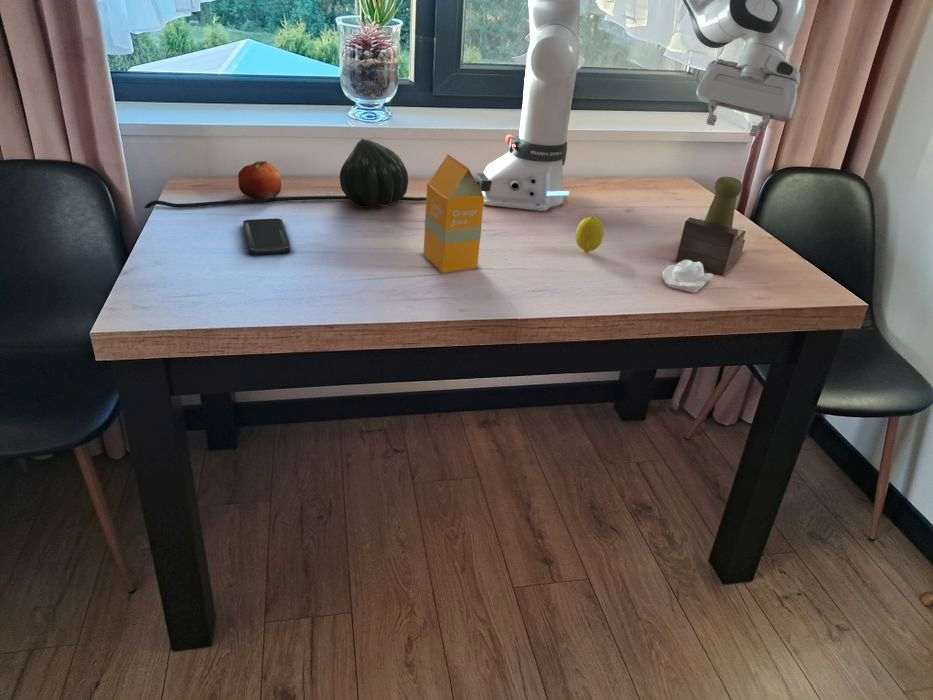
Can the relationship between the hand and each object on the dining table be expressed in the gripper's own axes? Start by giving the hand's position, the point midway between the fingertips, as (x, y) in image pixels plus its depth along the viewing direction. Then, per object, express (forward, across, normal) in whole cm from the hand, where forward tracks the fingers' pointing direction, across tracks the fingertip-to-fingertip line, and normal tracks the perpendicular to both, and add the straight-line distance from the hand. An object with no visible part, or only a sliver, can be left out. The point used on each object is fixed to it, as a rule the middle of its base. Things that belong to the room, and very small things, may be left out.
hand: (731, 129), depth 157 cm
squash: (+43, -63, -21) cm, 79 cm away
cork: (+22, +6, -2) cm, 22 cm away
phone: (+59, -65, -47) cm, 99 cm away
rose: (+35, +7, -12) cm, 38 cm away
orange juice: (+49, -32, -33) cm, 67 cm away
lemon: (+36, -14, -13) cm, 41 cm away
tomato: (+52, -83, -34) cm, 103 cm away
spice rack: (+27, +6, +1) cm, 27 cm away
